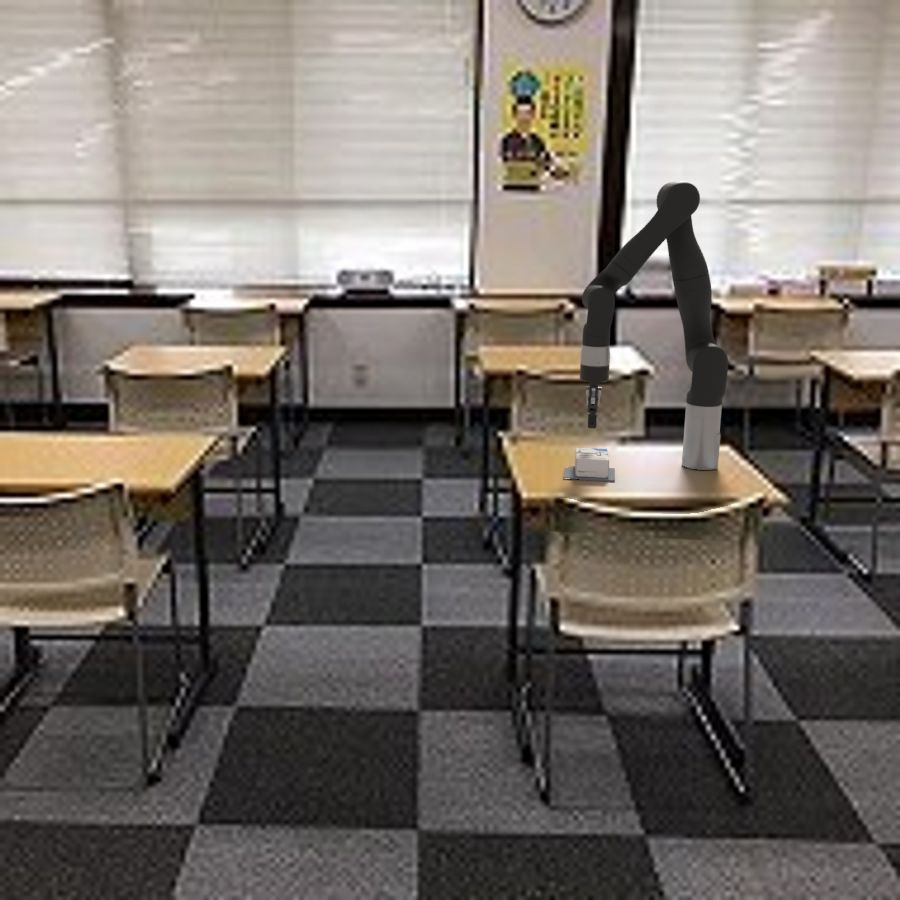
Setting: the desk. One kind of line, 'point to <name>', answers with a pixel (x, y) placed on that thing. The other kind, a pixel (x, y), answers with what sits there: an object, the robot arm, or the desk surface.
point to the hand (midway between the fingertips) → (591, 427)
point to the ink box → (591, 462)
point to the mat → (570, 474)
